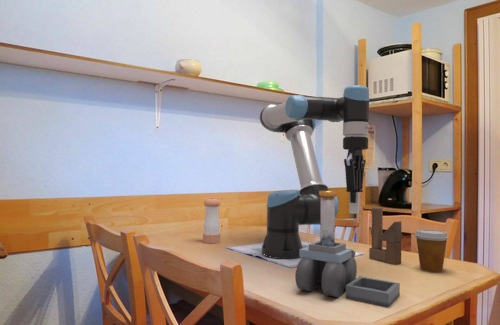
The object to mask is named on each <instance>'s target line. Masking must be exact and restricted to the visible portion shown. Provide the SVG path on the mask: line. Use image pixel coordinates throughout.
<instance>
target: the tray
mask: <svg viewBox="0 0 500 325" xmlns="http://www.w3.org/2000/svg"><path fill="white" fill-rule="evenodd" d="M400 285H401V284H400V282H395V281H390V280H384V279H378V278H373V277H367V276H358V277H356V279H355V280H353V281H352V282H350V283H349V284H347V285H346V288H345V299H349V300H353V301H358V302H363V303H367V304H372V305H377V306H381V307H386V308H390V307H391V305H392V304H393V303H394V302H395V301H396V300H397V299H398V298H399V297H400V287H401V286H400Z"/></svg>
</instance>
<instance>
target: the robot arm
mask: <svg viewBox="0 0 500 325" xmlns="http://www.w3.org/2000/svg"><path fill="white" fill-rule="evenodd" d="M369 92H370V91H369V87H367V86H366V85H359V84H358V85H355V84H354V85H349V86H346V87H344V89H343V95H342V96H341V97H326V96H311V95H302V94H297V95H295V94H292V95H289V96H288V97H287V99H286V101H285V102H282V103H280V104H269V105H267V106H265V107H263V108H262V109H261V111H260V113H259V122H260V124H261V125H262V126H263V128H265V129H266V130H268V131H270V132H272V133H283V134H285V138H286V139H287V140H288V141H289V142H290V144H291V148H292V154H293V158H294V161H295V162H294V163H295V166H296V172H297V177H298V181H299V186H300V189H299V190H298V189H284V190H278V191H273V192H270V193H268V195H267V202H266V233H265V234H266V235H265V237H264V240H263V243H262V246H261V254H262V255H263V254H265V255H267V256H271V257H270V258H272V257H277V258H276V259H284V258H287V259H296V258H297V257H298V258H300V257H299V251H300V249H302V248H304V246H303V243H302V240H301V236H300V233H299V231H300V230H299V227H300V225H301V226H308V225H309V226H310V225H314V226H315V225H320V224H321V196H319V191H330V189H329V187H328V185H326V184H325V183H323V180H322V176H321V172H320V167H319V163H318V160H317V157H316V152H315V148H314V145H313V141H312V138H311V137H312V135H313V134H314V131H315V129H316V120H317V121H328V122H331V123H340V122H342V136H344V137H343V138H342V148H343V150H345V151H346V150H347V155H346V158H344V159H343V163H344V168H345V169H344V170H345V183H346V184H345V186H346V193H348V194H349V199H348V200H349V202H348V213H349V214H354V215H359V214H360V202H361V200H360V198H361V196H360V195H361V194H360V193H363V192H364V191H363V187H364V186H363V185H364V175H365V165H366V159H364V155H363V151H365V150H368V149H369V138H368V135H369V129H370V128H371V126H370V125H369V120H370V119H369V117H370V116H369V115H370V93H369ZM338 212H339V199H338V197H337V195H336V196H335V219H337V215H338ZM267 256H266V257H267ZM298 258H297V259H298Z"/></svg>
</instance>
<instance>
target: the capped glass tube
mask: <svg viewBox="0 0 500 325" xmlns="http://www.w3.org/2000/svg"><path fill="white" fill-rule="evenodd" d="M319 196H321V224H319V225H320V226H319V227H320V231H319V232H320V233H319V234H320V240H319V241H320V245H321V246H328V247H334V245H335V238H336V237H335V235H336V233H335V228H336V226H335V225H336V222H335V221H336V218H335V196H337V190H335V191H334V190H329V191H319Z"/></svg>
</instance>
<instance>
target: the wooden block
mask: <svg viewBox="0 0 500 325" xmlns="http://www.w3.org/2000/svg"><path fill="white" fill-rule="evenodd" d="M383 210H384V209H383V208H382V207H378V206H376V207H375V206H374V207H371V247H370V248H369V250H368V251H369V252H368V253H369V254H368V255H369V256H368V257H369V259H371V260H376V261H380V262H384V263H387V264H390V265H394V266H395V265H400V264H402V221H401V220H400V221H393V223H392V224H391V225H390V226H389V227H388V228H387V229H386V230H385V231H384V232H383V219H384V218H383V213H384V212H383ZM383 242H385V248H383Z"/></svg>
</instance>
